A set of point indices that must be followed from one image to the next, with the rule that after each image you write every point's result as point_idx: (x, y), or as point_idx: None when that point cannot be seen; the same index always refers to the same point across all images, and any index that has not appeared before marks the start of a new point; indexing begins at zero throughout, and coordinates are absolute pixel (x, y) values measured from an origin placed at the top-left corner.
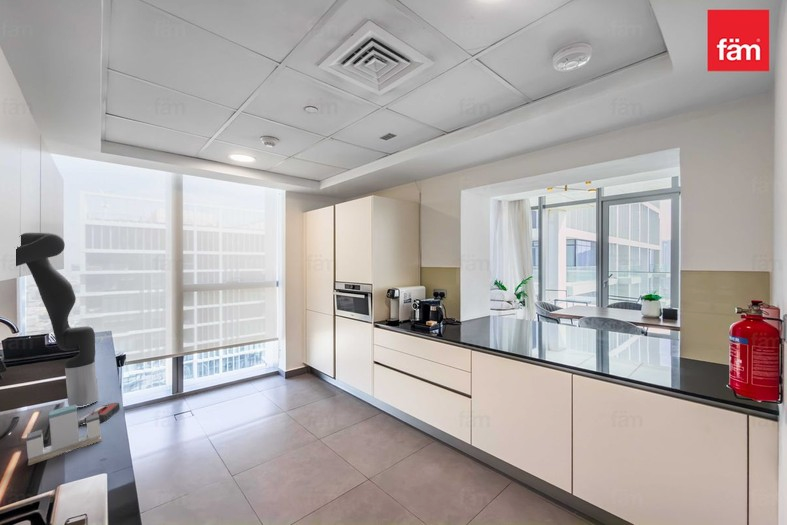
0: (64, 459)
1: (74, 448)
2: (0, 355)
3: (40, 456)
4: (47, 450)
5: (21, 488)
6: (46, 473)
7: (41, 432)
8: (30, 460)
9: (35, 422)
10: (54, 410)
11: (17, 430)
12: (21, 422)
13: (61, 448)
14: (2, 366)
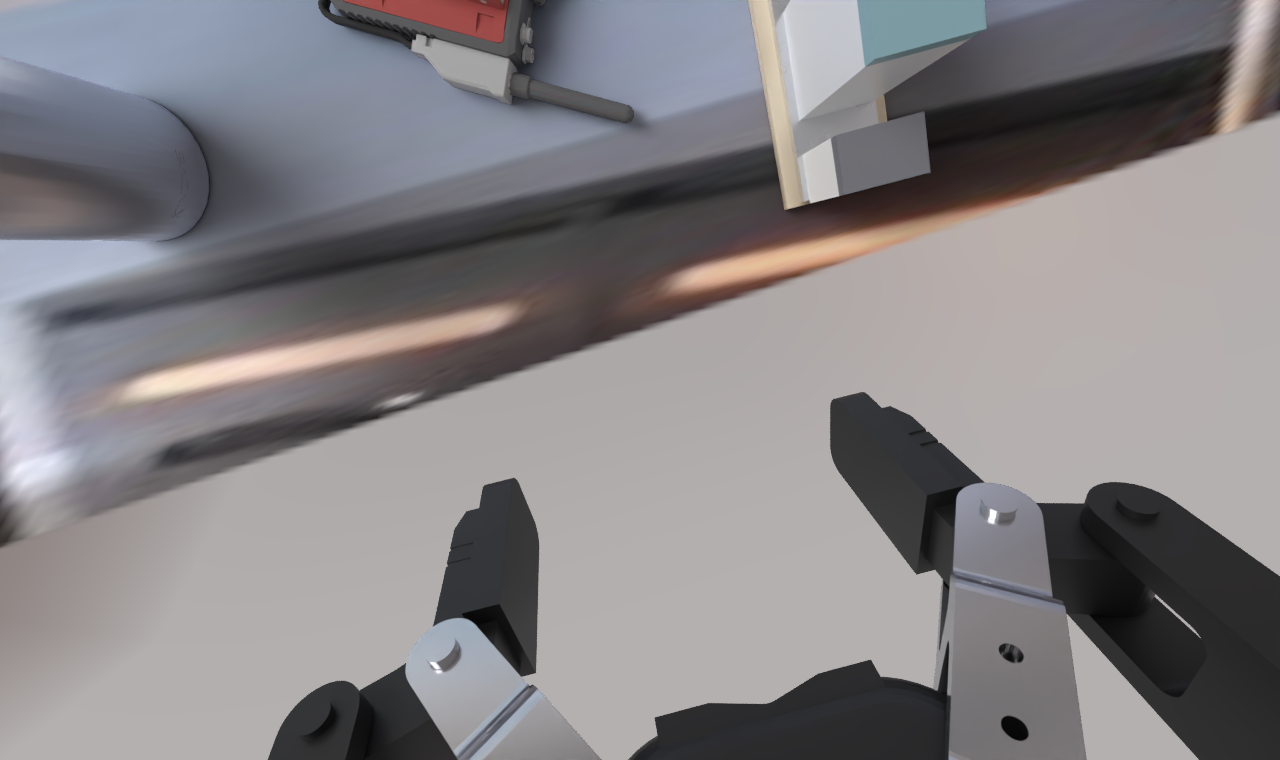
0: None
1: None
2: (357, 715)
3: None
4: (848, 126)
5: (1112, 130)
6: (1046, 74)
7: (890, 120)
8: None
9: (309, 340)
10: (883, 27)
11: (379, 383)
12: (266, 406)
13: None
14: (516, 541)
